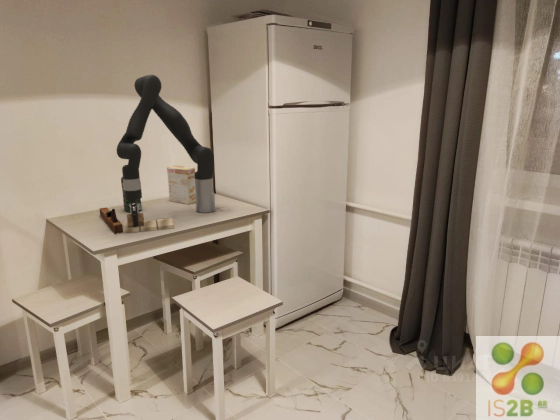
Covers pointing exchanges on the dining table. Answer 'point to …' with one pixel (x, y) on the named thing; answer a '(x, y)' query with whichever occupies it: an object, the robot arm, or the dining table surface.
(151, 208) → the dining table surface
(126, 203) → the coffee jar
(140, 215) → the block
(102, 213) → the hand plane
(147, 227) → the board
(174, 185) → the coffeecake box
